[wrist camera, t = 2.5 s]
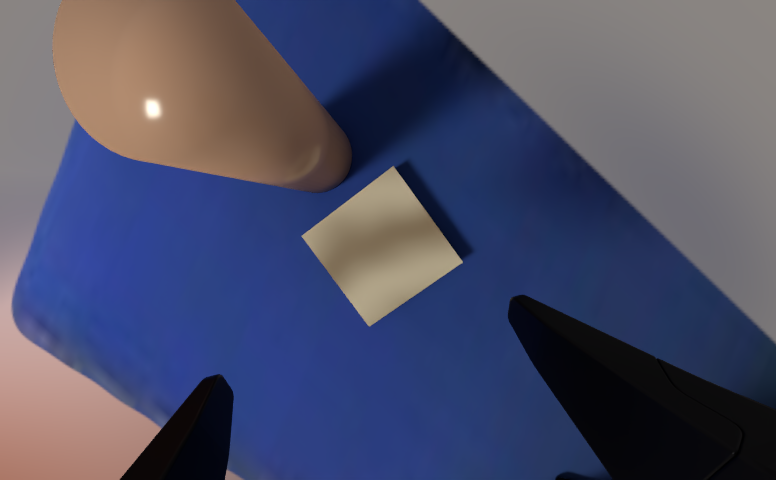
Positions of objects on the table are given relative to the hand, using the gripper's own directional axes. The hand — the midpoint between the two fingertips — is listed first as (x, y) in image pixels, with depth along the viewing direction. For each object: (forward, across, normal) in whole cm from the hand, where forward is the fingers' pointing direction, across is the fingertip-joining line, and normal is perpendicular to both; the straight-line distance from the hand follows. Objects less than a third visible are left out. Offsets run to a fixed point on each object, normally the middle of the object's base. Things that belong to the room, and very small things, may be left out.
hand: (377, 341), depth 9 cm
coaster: (+11, -2, +4) cm, 12 cm away
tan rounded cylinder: (+15, +1, -2) cm, 15 cm away
